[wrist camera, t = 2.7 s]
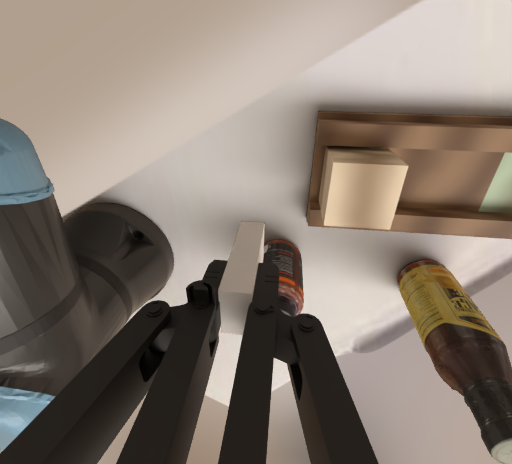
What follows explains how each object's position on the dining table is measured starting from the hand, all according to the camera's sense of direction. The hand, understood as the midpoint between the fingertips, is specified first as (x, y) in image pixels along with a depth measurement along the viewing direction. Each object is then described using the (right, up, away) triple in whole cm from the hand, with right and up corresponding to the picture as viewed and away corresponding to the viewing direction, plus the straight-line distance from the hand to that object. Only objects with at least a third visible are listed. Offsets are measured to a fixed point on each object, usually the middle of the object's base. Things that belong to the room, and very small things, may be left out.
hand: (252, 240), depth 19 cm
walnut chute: (+18, +7, +12) cm, 23 cm away
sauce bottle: (+21, -5, +18) cm, 29 cm away
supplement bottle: (+3, -3, +19) cm, 20 cm away
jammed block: (+10, +7, +11) cm, 17 cm away
